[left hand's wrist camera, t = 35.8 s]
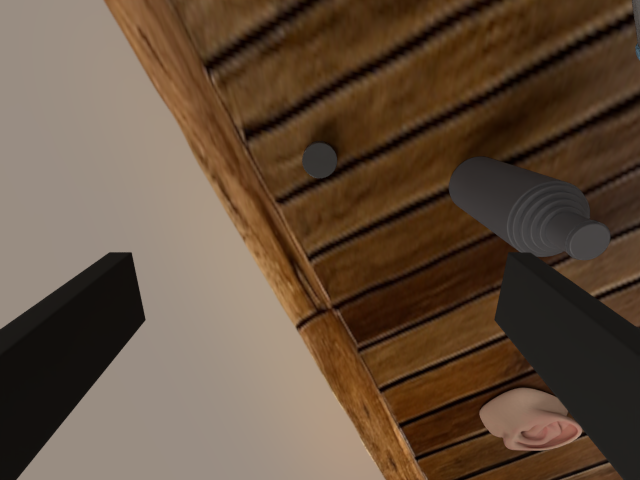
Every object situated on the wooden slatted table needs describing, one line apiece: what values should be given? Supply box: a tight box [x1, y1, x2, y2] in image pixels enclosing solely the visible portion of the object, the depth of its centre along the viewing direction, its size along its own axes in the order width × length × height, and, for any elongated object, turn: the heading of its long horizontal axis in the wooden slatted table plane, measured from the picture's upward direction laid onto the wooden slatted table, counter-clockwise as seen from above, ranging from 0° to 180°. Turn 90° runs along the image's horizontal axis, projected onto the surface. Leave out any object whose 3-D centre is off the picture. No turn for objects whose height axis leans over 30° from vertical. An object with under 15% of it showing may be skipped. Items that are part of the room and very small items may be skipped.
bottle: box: [449, 156, 610, 260], centre depth 35 cm, size 7×7×20 cm
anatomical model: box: [480, 388, 582, 450], centre depth 56 cm, size 13×4×12 cm
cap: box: [302, 141, 337, 178], centre depth 42 cm, size 4×4×2 cm
